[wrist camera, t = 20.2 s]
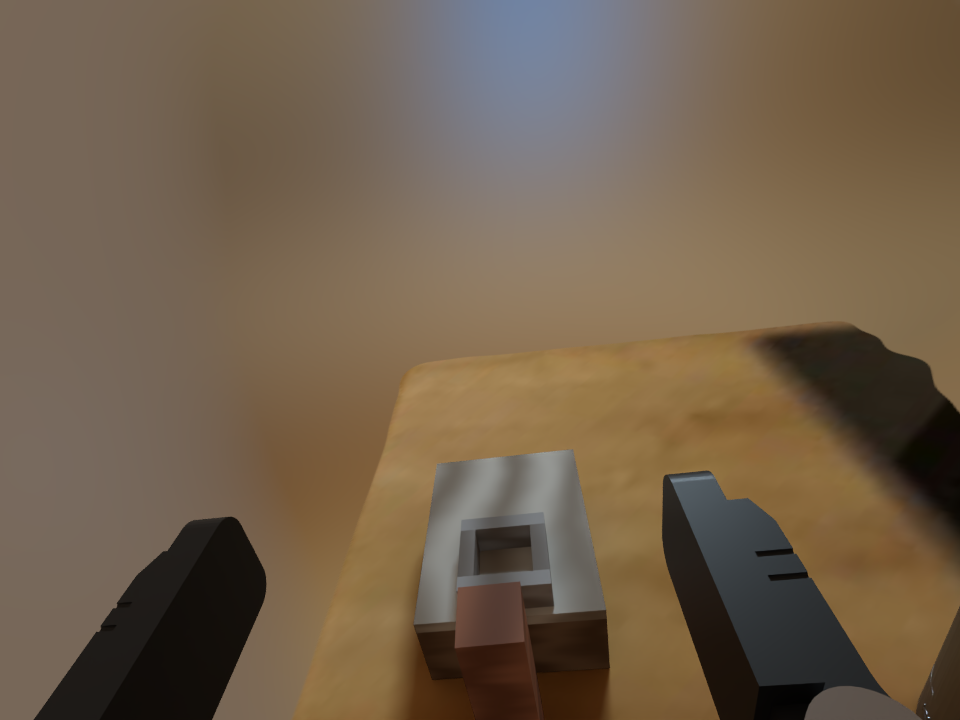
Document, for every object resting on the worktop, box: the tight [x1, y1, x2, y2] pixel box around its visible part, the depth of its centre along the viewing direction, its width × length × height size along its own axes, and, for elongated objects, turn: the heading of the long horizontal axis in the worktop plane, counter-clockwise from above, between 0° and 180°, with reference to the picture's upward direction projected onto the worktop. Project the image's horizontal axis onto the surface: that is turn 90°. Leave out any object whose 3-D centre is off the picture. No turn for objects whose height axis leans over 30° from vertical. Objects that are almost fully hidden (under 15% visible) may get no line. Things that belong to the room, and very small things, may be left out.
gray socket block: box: [414, 449, 610, 680], centre depth 47 cm, size 14×18×10 cm
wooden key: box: [455, 581, 544, 720], centre depth 32 cm, size 4×4×16 cm
